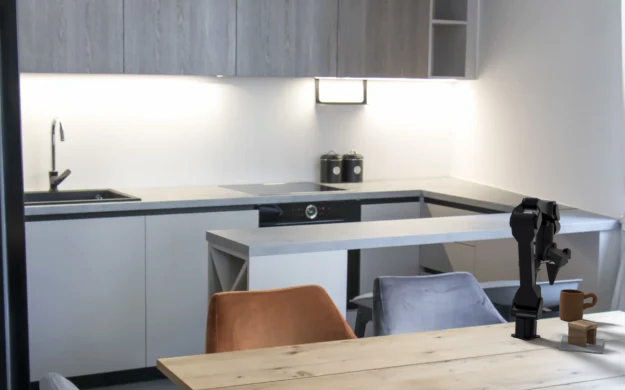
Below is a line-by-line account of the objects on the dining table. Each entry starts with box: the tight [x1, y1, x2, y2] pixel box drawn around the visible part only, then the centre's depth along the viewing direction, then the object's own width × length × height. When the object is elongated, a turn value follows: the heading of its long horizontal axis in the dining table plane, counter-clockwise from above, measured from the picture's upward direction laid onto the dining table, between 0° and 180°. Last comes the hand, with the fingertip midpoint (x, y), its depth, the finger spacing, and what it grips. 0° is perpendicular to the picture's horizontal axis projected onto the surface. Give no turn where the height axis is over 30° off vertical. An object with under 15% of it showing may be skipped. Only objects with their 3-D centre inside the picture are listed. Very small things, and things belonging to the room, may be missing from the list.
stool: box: [567, 319, 598, 347], centre depth 273 cm, size 6×6×6 cm
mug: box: [558, 288, 598, 322], centre depth 305 cm, size 12×8×9 cm, turn 83°
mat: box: [558, 334, 605, 355], centre depth 274 cm, size 16×12×1 cm
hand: (542, 286), depth 299 cm, fingers open, 9 cm apart
